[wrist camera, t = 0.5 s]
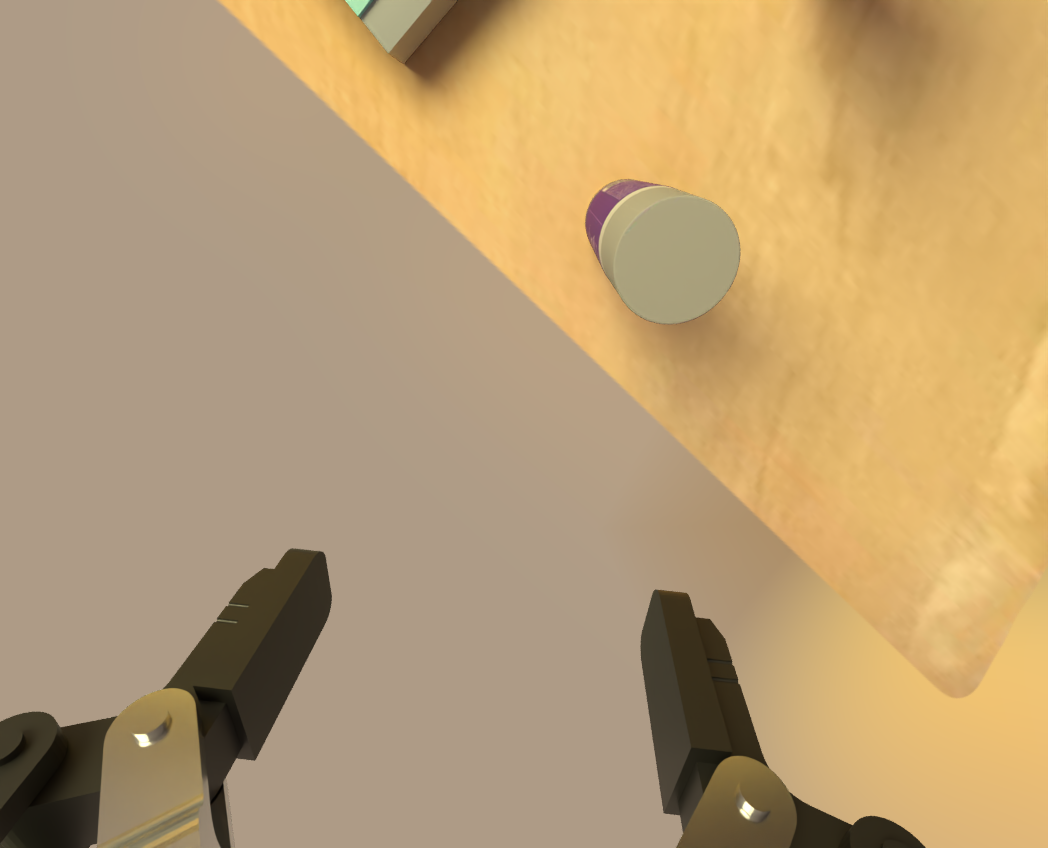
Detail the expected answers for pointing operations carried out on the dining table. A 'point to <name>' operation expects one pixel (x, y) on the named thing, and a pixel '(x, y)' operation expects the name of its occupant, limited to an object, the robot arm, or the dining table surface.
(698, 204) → the container
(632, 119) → the dining table surface
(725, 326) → the dining table surface
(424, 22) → the open tray
